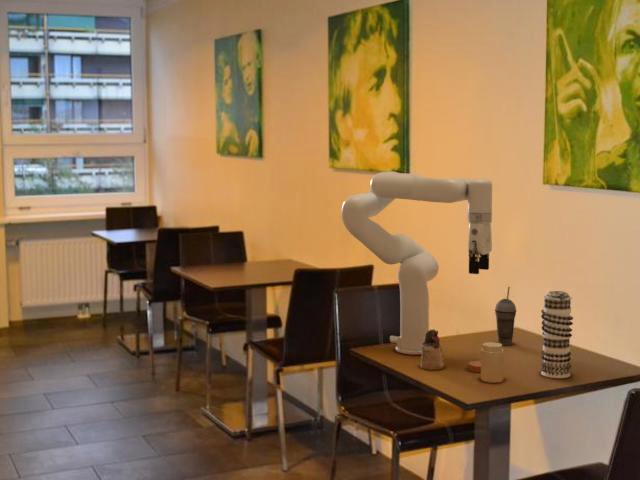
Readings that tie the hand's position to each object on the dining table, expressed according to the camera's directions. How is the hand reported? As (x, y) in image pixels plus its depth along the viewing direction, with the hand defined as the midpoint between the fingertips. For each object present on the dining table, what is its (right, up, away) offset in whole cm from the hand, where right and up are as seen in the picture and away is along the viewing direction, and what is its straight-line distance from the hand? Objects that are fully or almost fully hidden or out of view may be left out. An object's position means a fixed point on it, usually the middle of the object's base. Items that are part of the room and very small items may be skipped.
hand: (478, 271), depth 284 cm
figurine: (-16, -30, -7) cm, 34 cm away
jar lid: (-2, -28, -11) cm, 30 cm away
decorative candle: (+20, -31, -16) cm, 40 cm away
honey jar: (0, -31, -21) cm, 38 cm away
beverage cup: (+13, -26, +23) cm, 37 cm away
